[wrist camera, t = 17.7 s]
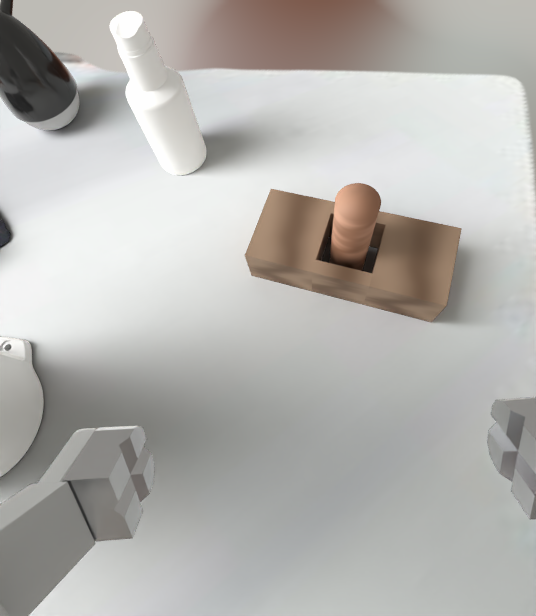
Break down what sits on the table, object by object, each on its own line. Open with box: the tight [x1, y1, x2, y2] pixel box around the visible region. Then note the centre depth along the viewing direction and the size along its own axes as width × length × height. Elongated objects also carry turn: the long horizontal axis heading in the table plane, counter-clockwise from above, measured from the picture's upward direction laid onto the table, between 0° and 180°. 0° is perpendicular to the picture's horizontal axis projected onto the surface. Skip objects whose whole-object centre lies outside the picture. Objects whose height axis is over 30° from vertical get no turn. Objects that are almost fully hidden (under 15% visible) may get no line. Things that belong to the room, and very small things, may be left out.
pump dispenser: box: [0, 0, 79, 130], centre depth 52 cm, size 10×10×15 cm
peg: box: [329, 183, 381, 271], centre depth 39 cm, size 4×4×12 cm
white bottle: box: [109, 11, 207, 175], centre depth 45 cm, size 7×7×18 cm
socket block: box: [245, 189, 461, 322], centre depth 43 cm, size 21×9×5 cm, turn 72°
